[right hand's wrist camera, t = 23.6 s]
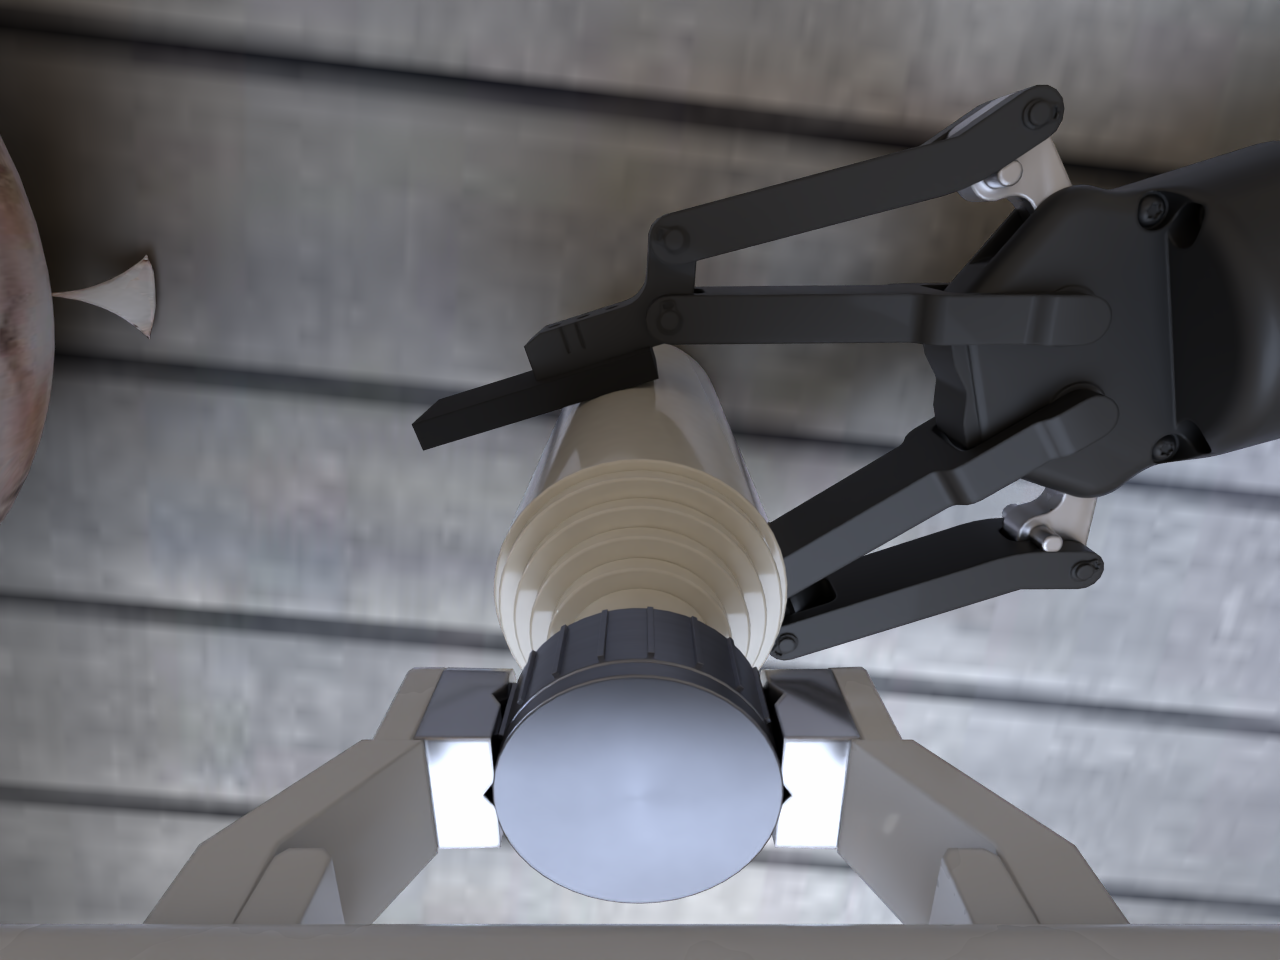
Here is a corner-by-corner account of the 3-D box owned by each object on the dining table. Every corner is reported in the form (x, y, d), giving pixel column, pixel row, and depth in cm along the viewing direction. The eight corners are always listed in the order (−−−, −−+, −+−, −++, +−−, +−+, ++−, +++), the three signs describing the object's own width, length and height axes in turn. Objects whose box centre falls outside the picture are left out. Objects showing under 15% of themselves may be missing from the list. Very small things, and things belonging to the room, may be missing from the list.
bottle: (576, 328, 25) (439, 541, 8) (731, 352, 26) (899, 604, 9) (559, 475, 27) (419, 886, 10) (703, 496, 28) (795, 930, 11)
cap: (753, 584, 10) (774, 650, 8) (780, 799, 11) (801, 890, 9) (482, 622, 10) (454, 694, 8) (540, 828, 11) (524, 921, 10)
